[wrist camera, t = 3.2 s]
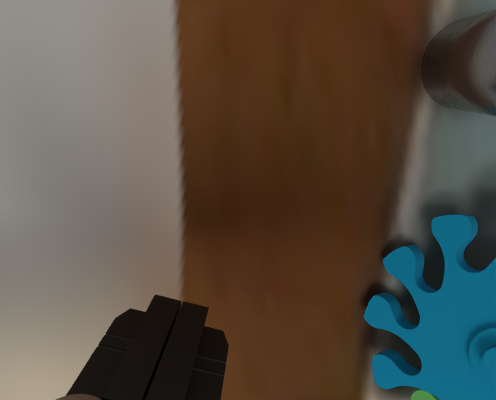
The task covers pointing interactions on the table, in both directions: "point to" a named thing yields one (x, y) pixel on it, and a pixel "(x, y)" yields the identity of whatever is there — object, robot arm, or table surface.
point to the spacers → (463, 65)
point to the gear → (441, 321)
